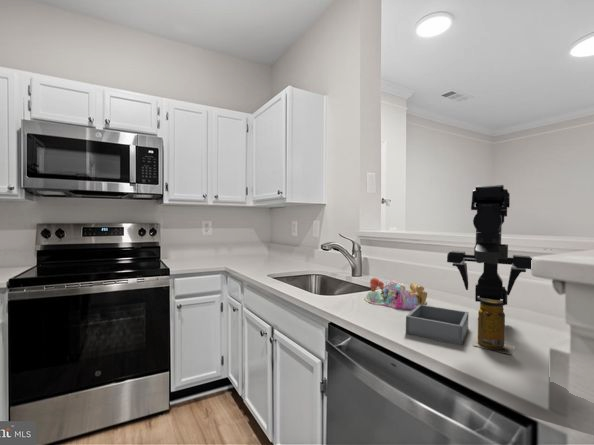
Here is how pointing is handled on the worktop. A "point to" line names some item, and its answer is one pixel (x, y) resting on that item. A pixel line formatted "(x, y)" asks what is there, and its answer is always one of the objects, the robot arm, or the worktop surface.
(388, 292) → the colourful coral reef
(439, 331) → the bin
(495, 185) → the robot arm
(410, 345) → the worktop surface
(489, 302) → the condiment
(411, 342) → the worktop surface
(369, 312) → the worktop surface
